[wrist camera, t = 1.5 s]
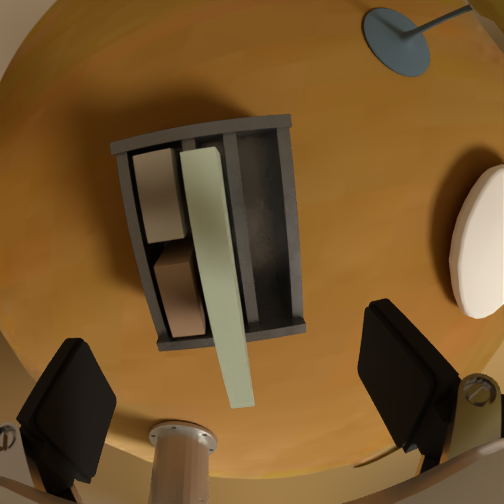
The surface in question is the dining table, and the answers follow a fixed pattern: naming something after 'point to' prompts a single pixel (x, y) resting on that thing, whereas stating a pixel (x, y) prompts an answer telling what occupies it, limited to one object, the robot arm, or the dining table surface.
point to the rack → (232, 222)
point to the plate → (480, 247)
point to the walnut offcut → (181, 288)
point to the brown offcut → (162, 194)
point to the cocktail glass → (415, 35)
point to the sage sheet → (218, 268)
